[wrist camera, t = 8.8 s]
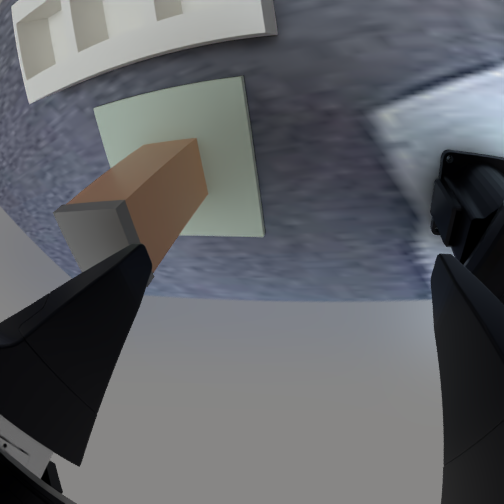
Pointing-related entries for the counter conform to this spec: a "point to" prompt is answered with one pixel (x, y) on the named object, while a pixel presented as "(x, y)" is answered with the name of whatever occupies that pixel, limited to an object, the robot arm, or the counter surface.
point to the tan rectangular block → (136, 204)
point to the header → (122, 34)
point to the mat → (209, 143)
